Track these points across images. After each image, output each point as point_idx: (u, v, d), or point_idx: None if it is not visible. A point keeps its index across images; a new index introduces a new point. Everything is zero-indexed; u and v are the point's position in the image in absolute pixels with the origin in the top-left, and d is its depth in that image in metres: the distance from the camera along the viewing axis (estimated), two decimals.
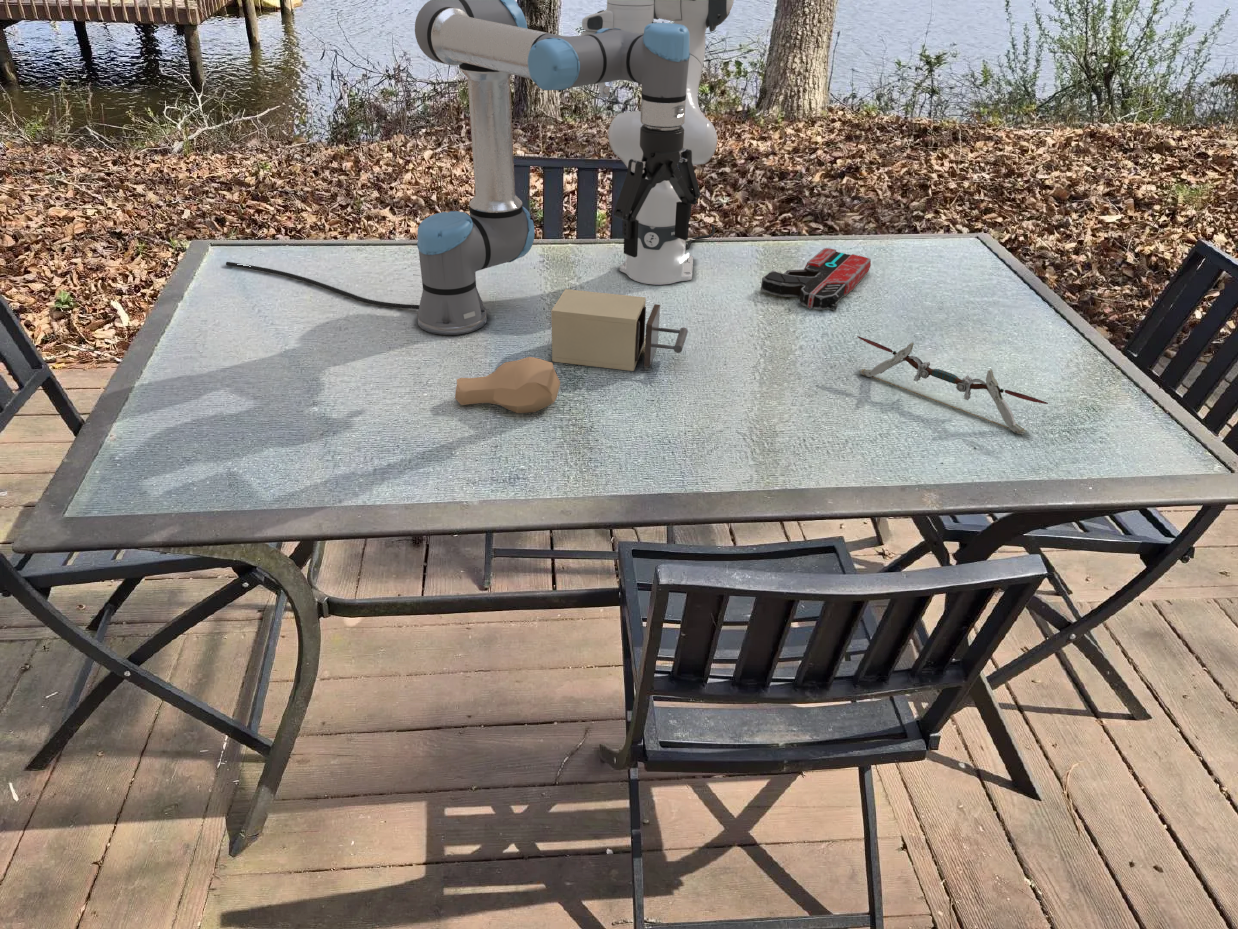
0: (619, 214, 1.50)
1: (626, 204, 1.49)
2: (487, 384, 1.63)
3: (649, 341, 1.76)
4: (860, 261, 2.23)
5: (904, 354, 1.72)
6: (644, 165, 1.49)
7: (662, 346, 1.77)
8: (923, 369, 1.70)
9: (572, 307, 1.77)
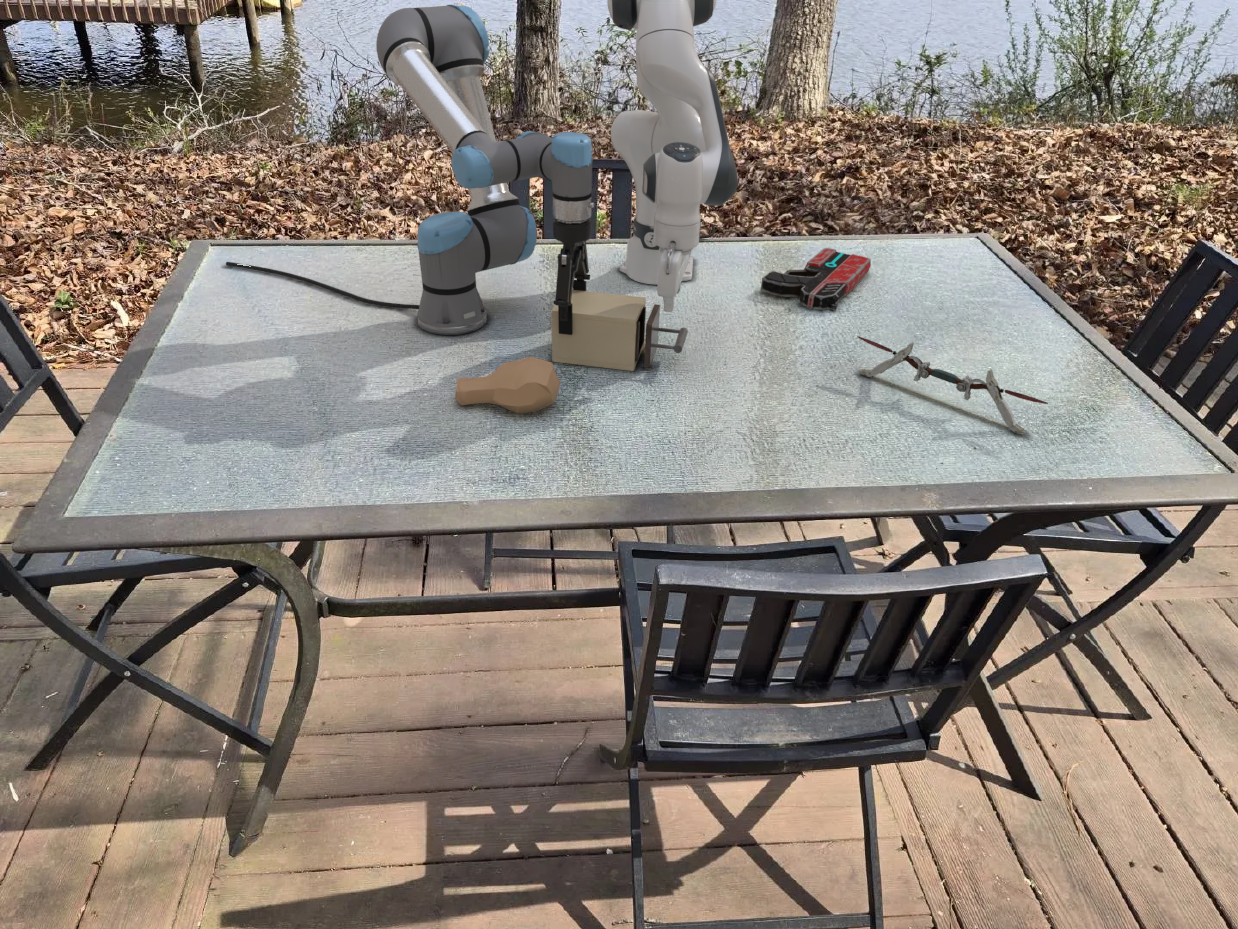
0: (562, 303, 1.70)
1: (566, 293, 1.70)
2: (487, 384, 1.63)
3: (649, 341, 1.76)
4: (860, 261, 2.23)
5: (904, 354, 1.72)
6: None
7: (662, 346, 1.77)
8: (923, 369, 1.70)
9: (572, 307, 1.77)
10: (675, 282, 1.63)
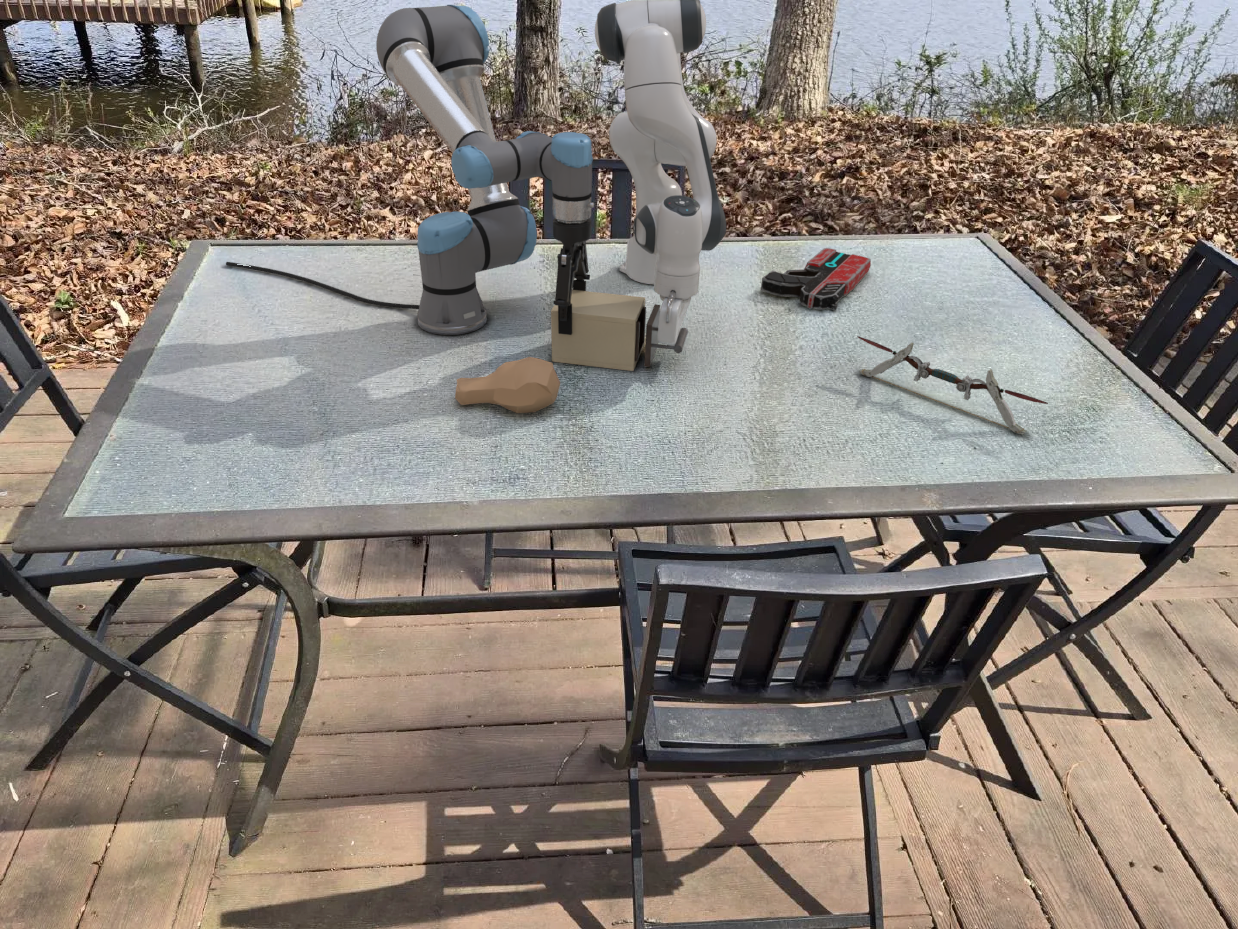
0: (562, 303, 1.70)
1: (566, 293, 1.70)
2: (487, 384, 1.63)
3: (649, 341, 1.76)
4: (860, 261, 2.23)
5: (904, 354, 1.72)
6: None
7: (662, 346, 1.77)
8: (923, 369, 1.70)
9: (572, 307, 1.77)
10: (675, 330, 1.68)
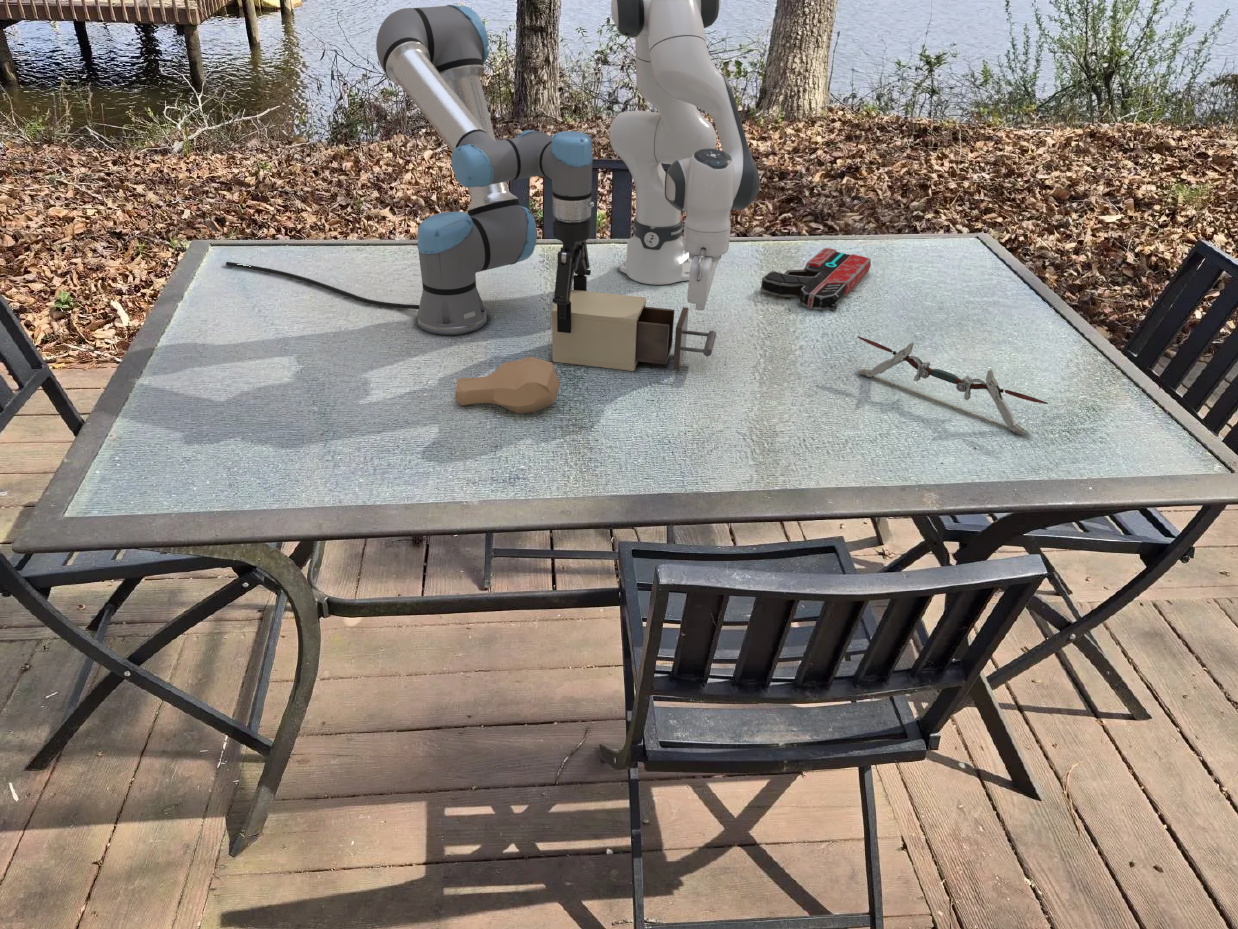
0: (560, 300, 1.69)
1: (565, 291, 1.69)
2: (487, 384, 1.63)
3: (678, 344, 1.75)
4: (860, 261, 2.23)
5: (904, 354, 1.72)
6: None
7: (691, 349, 1.76)
8: (923, 369, 1.70)
9: (573, 307, 1.77)
10: (706, 289, 1.62)
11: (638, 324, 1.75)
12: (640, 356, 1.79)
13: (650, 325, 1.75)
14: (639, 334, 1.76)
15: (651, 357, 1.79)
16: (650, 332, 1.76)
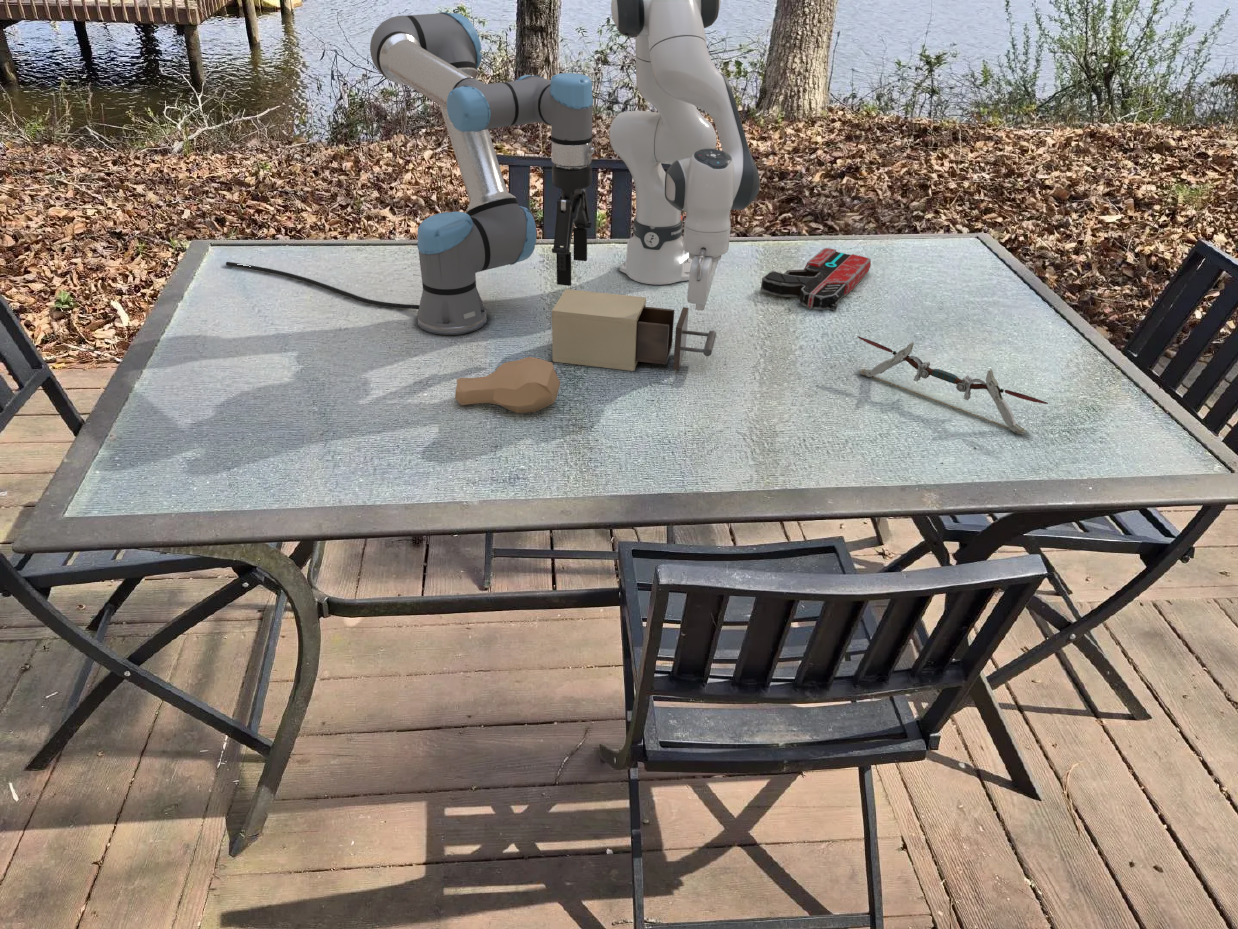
0: (560, 250, 1.64)
1: (565, 240, 1.63)
2: (487, 384, 1.63)
3: (678, 344, 1.75)
4: (860, 261, 2.23)
5: (904, 354, 1.72)
6: None
7: (691, 349, 1.76)
8: (923, 369, 1.70)
9: (573, 307, 1.77)
10: (706, 289, 1.62)
11: (638, 324, 1.75)
12: (640, 356, 1.79)
13: (650, 325, 1.75)
14: (639, 334, 1.76)
15: (651, 357, 1.79)
16: (650, 332, 1.76)
